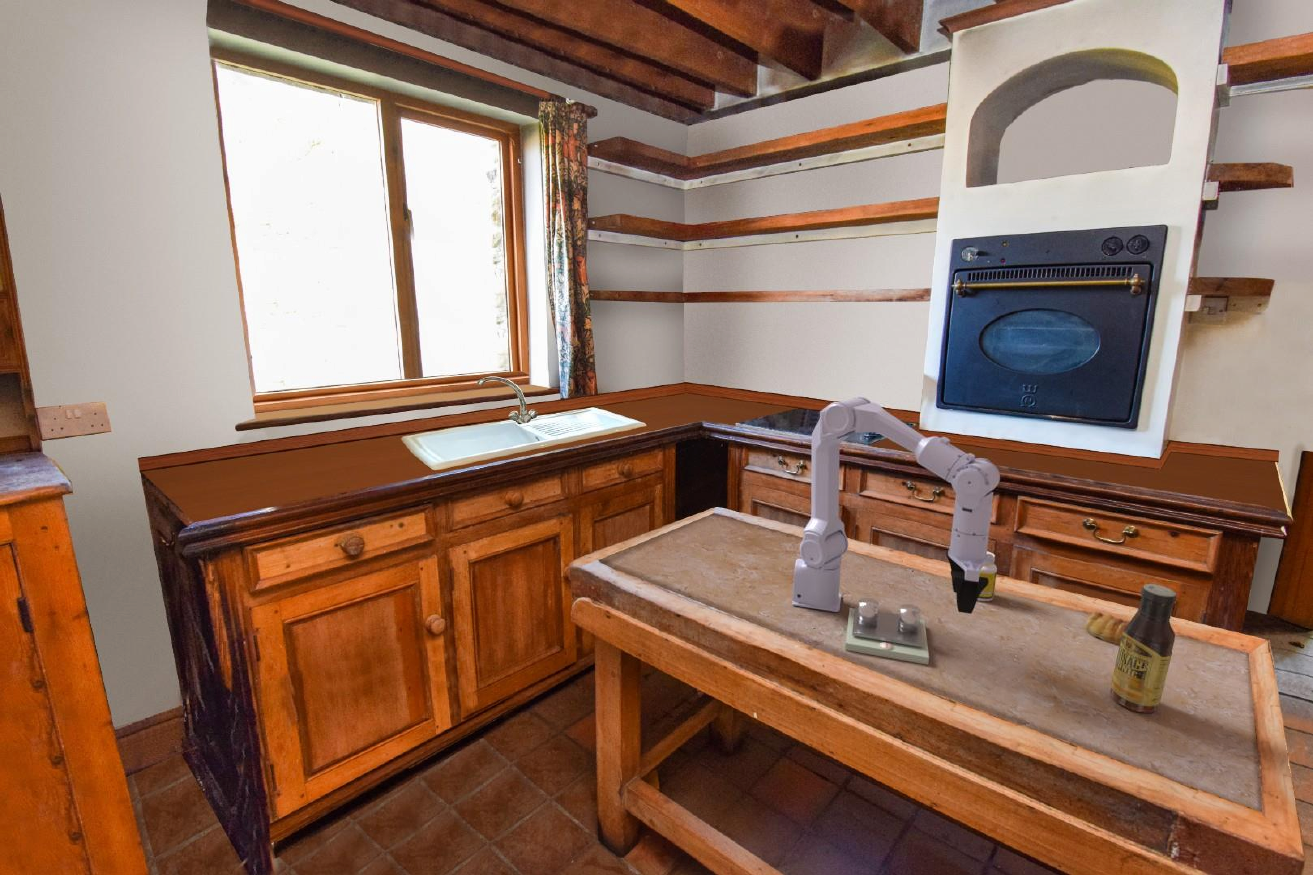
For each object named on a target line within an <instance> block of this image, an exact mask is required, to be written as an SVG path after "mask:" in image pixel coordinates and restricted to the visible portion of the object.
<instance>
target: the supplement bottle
mask: <svg viewBox="0 0 1313 875" xmlns="http://www.w3.org/2000/svg"><path fill="white" fill-rule="evenodd" d="M987 554H991V555H993V557H994V561H993V562H986V563H985V564H984V566H983V567H982V568H981V570H980V574H979V577H986V578H988V580H989V583H988V585H987V586H986V587H985V588H984V589H983V591H982V592H981V594H980V595H979V597H978V599H977V601H979V602H991V601H993V600H994V596H995V589H996V588H995V587H996V579H997V574H998V568H997V565H996V564H995V562H996V561H995V559H996V555H995V553H992V552H990V551H988V550H987Z"/></svg>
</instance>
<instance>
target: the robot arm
mask: <svg viewBox="0 0 1313 875" xmlns="http://www.w3.org/2000/svg"><path fill="white" fill-rule="evenodd" d="M854 433H857V434H858V433H860V434H861V433H877V434H879V435H881V436H883V437H884V438H886V439H889V441H892V442H894V443H896V444H897V445H899V446H901V447H902V448H905V449H907V450H908V451H910V452H912V453H914V456H915V460H916V463H918V464H919V465H920V466H922V467H924V468H925V469H927V470H928V471H930V472H932V473H933V474H935V475H937V476H938V477H939V478H941V479H943V480H944V481H946V482H948V483H950V484H951V487H952V489H953V491H954V492H955V499H954V500H955V502H954V506H953V515H952V516H953V517H952V526H951V532H950V534H951V535H950V542H949V543H950V544H949V549H948V551H945V552H946V553H945V554H946V557H947V560H948V562H949V563H948V564H949V566H950V567H949V568H950V575H951V583H952V590H953V593H955V594H956V597H955V598H956V606H957V611H958V612H959V613H964V614H972V613H973V611H974V610H975V608H976V607H975V606H976V605H977V601H978V600H977V599H978V597H979V595H980V594H981V592H982V591H983V589H984V588H985V587H986V586H987V585H988V583H989V580H988V578H986V577H979V574H980V570H981V568H982V567H983V566H984V564H985V563H986V562H993V561H994V557H993V555H991V554H987V551H988V545H989V535H990V528H991V522H992V521H991V520H992V519H991V518H992V514H993V513H992V512H993V498H994V492H993V490H995V488H996V487H997V486H998V485H999V483H1000V480H1001V475H1000V474H1001V473H1000V471H999V469H998V467H997V466H996V465H995V464H994V463H992V461H990V460H989V459H988V458H975V457H976V455H975V454H973V453H971V452H969V453H966V452H964V451H963V450H961V449H959V448H958V447H956V446H954V445H953V444H951V443H950V442H951V439H949V438H948V437H946V436H942V437H939V436H937V435H936V436H929V437H926V436H924V435H923V434H922V433H920V432H919V431H916V429H914V428H912V427H910V426H909V425H908V424H906V423H904V422H903V421H901V420H900V419H898V418H897V417H895V416H894V415H892V414H891V413H889V412H888V411H887V410H885V409H884V408H883V407H882V406H881V405H880V404H879V403H877V402H872V401H871V400H869V399H868V398H866V397H863V396H857V397H854V398H851V399H846V400H842V401H833V402H832V403H830V404H828V405H827V406H826V407H824V408H823V409H822V410H820V411H819V420H818V421H817V423H816V424H815V427H814V428H813V431H812V433H811V485H810V486H811V490H810V491H811V493H810V494H811V495H810V496H811V500H810V501H811V503H810V504H811V508H810V510H811V512H810V513H811V515H810V516H811V517H810V519H809V521H808V522H807V524H806V526H805V528H804V529H803V538H802V540H801V542H800V545H799V555H800V557H801V558H796V560H795V566H794V571H793V572H794V573H793V584H792V601H791V602H792V603H791V604H792V605H793V606H797V607H802V608H809V609H814V610H815V609H816V610H821V611H826V612H827V611H828V612H833V613H839V612H840V608H841V601H842V594H841V593H840V581H841V569H842V566H841V565H842V556H843V555H844V554H845V553H846V552H847V551H848V548H849V540H848V537H847V534H846V531H845V523H844V522H843V521H842V520H841V518H840V516H839V513H840V511H839V509H840V507H839V506H840V495H839V494H840V445H841V443H843V441H845V440H847V438H848V437H850V436H851V435H852V434H854ZM994 562H995V561H994Z"/></svg>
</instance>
